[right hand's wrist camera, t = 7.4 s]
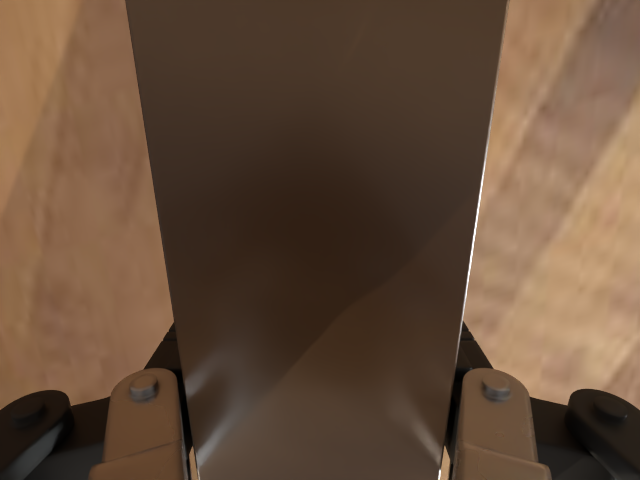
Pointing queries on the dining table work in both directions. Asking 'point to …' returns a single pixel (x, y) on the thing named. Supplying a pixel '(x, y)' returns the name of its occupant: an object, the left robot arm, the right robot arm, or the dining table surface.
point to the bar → (318, 221)
